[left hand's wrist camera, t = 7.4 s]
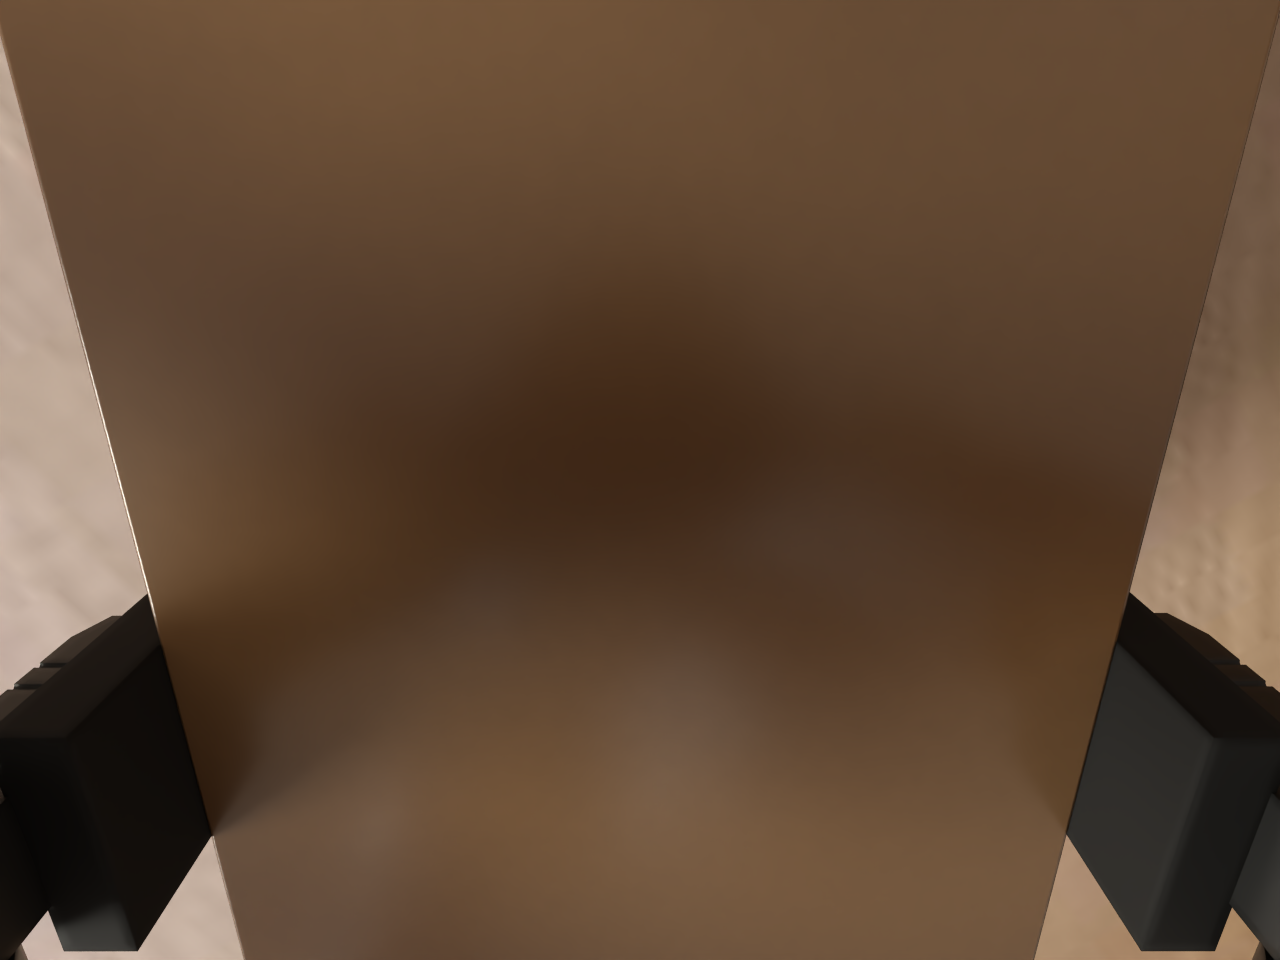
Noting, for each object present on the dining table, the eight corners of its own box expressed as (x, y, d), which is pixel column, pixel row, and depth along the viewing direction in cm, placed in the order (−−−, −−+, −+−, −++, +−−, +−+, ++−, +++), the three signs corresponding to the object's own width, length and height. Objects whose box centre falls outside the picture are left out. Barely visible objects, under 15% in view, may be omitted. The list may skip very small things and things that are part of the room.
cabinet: (359, -244, 14) (-376, -1358, 4) (912, -244, 14) (1639, -1345, 4) (448, 608, 21) (262, 1037, 11) (827, 607, 21) (1016, 1034, 11)
